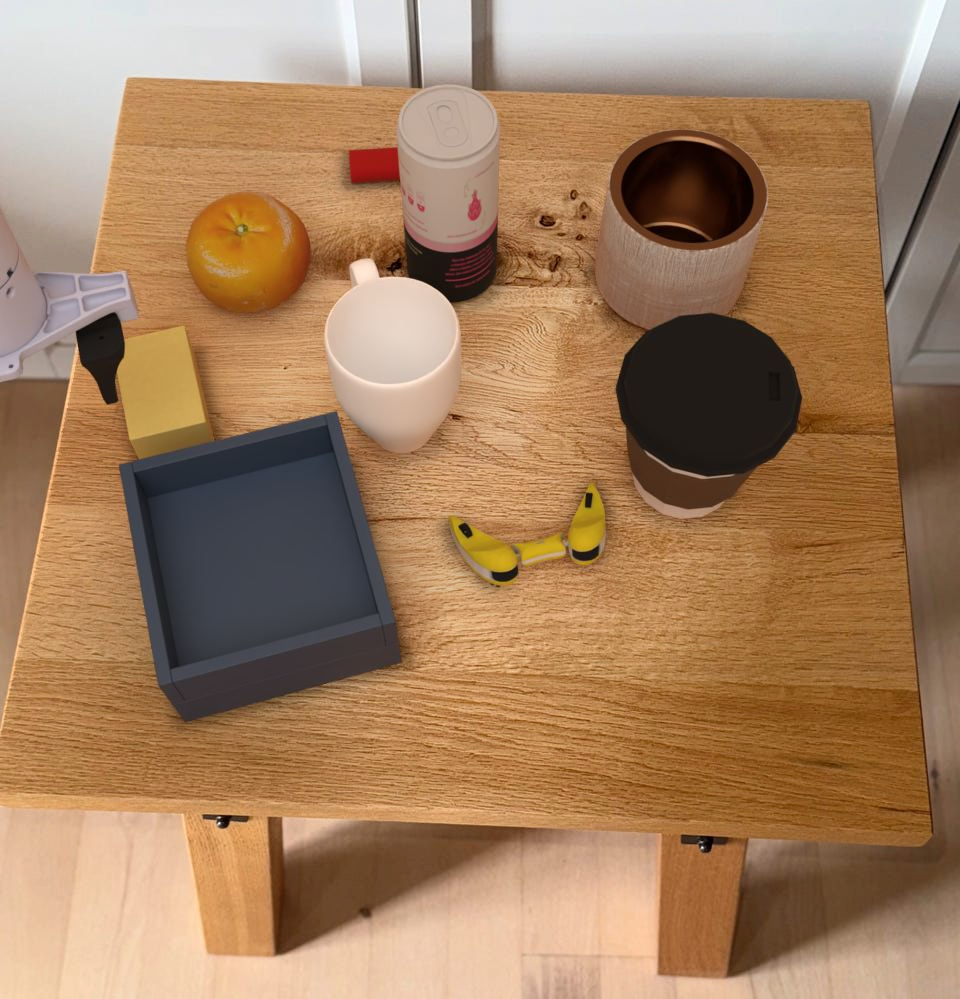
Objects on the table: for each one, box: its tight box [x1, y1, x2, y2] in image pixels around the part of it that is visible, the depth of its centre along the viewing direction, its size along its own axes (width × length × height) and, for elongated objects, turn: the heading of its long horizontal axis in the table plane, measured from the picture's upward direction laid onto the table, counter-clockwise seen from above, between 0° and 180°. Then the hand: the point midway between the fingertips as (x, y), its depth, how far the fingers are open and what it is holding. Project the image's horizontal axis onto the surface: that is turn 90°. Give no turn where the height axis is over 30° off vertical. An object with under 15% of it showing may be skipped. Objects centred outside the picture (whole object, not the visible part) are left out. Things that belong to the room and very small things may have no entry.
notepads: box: [116, 325, 215, 460], centre depth 81 cm, size 5×8×4 cm, turn 16°
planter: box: [594, 128, 769, 331], centre depth 84 cm, size 11×11×10 cm
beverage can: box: [395, 83, 501, 304], centre depth 82 cm, size 6×7×15 cm
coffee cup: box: [615, 313, 803, 520], centre depth 75 cm, size 11×11×12 cm
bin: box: [118, 410, 403, 723], centre depth 74 cm, size 14×15×7 cm
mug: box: [323, 257, 462, 454], centre depth 78 cm, size 12×8×11 cm
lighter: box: [348, 146, 400, 184], centre depth 92 cm, size 3×1×8 cm
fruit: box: [185, 190, 312, 314], centre depth 85 cm, size 8×9×8 cm
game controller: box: [448, 481, 607, 589], centre depth 77 cm, size 10×6×4 cm, turn 106°
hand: (46, 405), depth 72 cm, fingers open, 7 cm apart
